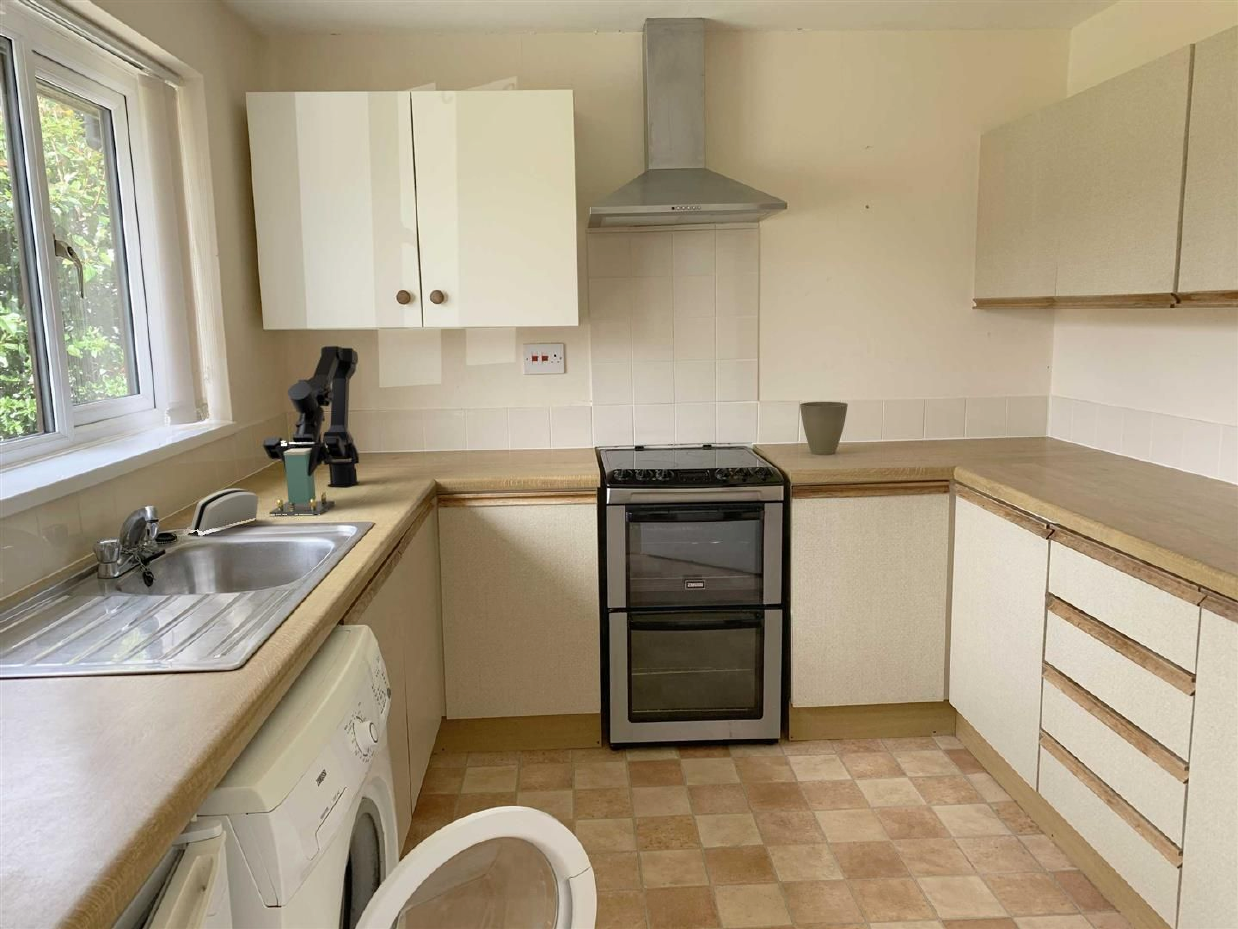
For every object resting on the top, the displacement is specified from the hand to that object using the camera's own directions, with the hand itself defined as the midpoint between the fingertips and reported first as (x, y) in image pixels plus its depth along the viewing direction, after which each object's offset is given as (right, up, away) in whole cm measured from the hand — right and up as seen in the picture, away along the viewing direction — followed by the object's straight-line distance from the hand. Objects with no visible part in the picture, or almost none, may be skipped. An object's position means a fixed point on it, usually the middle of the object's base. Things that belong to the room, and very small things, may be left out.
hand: (298, 475), depth 225 cm
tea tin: (0, -6, +2) cm, 7 cm away
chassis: (0, -9, +3) cm, 9 cm away
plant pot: (+144, +6, +71) cm, 161 cm away
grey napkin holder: (-12, -12, -14) cm, 22 cm away
